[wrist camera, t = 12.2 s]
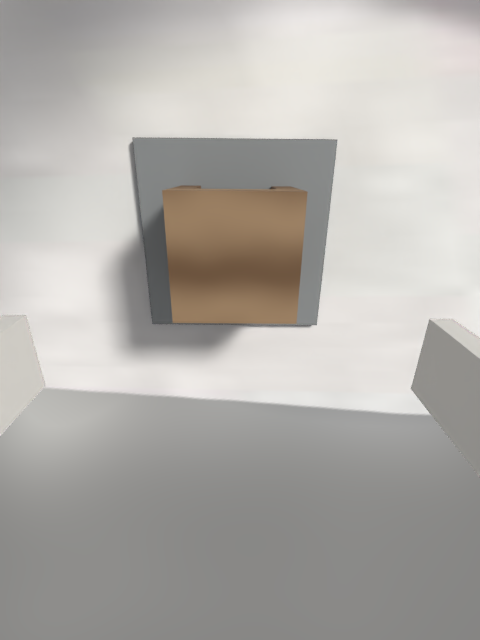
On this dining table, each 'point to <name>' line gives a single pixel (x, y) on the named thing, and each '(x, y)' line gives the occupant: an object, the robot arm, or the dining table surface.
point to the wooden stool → (234, 253)
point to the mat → (234, 173)
